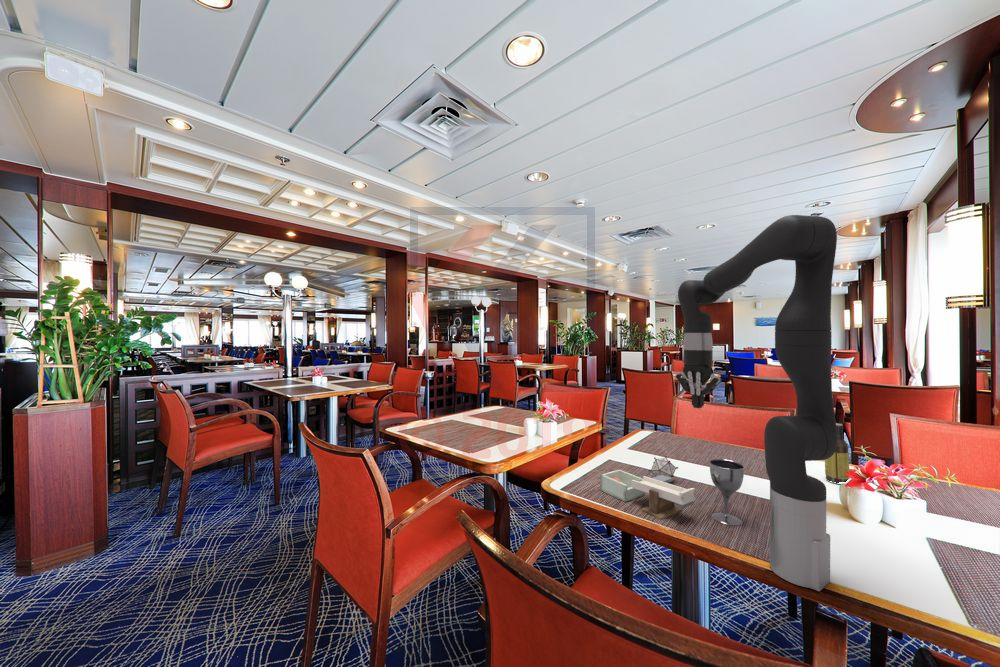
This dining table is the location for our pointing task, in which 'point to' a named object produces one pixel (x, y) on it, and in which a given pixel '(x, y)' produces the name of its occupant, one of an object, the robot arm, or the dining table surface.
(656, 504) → the fulcrum
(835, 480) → the sauce bottle
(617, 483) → the tray
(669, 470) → the grey geometric polyhedron
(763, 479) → the dining table surface
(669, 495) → the lever
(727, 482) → the wine glass
